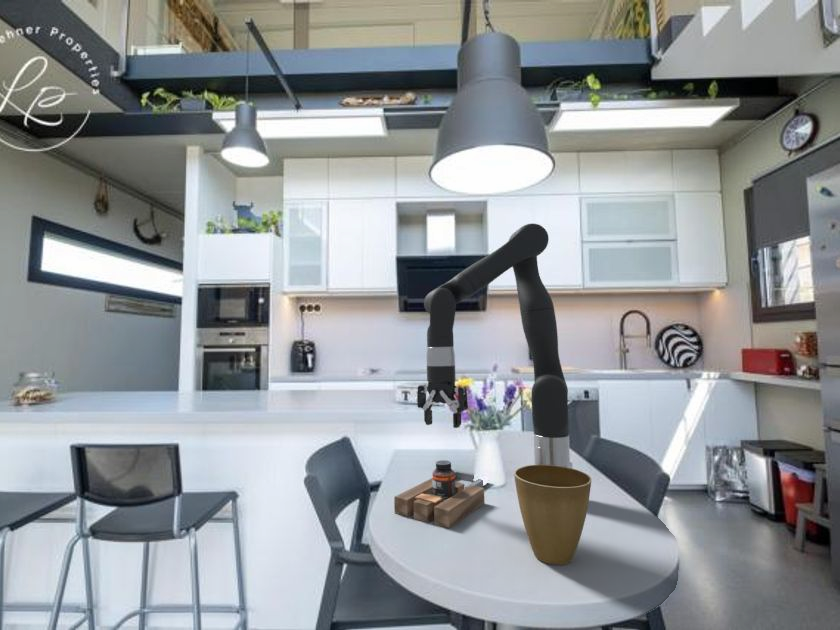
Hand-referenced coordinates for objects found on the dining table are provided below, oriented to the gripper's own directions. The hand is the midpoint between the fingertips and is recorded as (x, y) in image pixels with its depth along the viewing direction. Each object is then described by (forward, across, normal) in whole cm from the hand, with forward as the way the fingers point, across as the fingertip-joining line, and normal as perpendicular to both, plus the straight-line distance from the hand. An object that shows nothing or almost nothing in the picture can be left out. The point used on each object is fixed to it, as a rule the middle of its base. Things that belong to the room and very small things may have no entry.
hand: (442, 425), depth 113 cm
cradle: (+21, +4, -17) cm, 27 cm away
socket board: (+21, 0, +1) cm, 21 cm away
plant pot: (+21, -32, +10) cm, 39 cm away
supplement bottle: (+21, 0, 0) cm, 21 cm away
